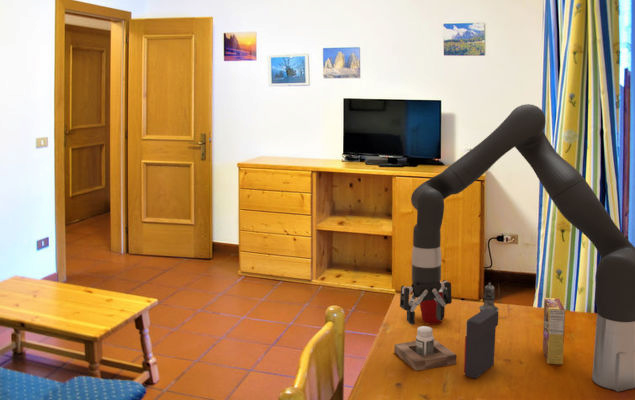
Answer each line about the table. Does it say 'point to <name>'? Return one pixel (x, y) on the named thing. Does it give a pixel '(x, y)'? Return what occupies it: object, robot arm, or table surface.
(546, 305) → the candy box
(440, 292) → the plastic cup
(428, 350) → the pill bottle
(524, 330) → the table surface
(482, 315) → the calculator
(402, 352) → the gray square frame
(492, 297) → the rusty flanged peg
